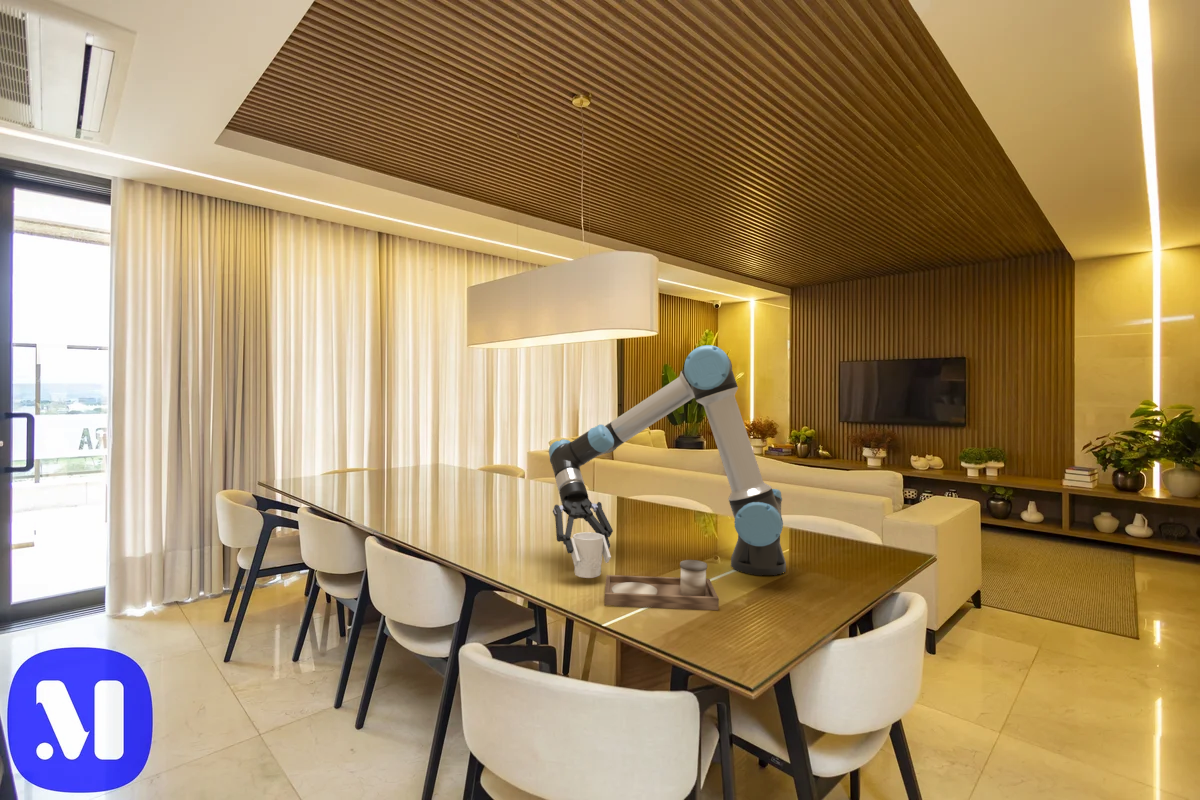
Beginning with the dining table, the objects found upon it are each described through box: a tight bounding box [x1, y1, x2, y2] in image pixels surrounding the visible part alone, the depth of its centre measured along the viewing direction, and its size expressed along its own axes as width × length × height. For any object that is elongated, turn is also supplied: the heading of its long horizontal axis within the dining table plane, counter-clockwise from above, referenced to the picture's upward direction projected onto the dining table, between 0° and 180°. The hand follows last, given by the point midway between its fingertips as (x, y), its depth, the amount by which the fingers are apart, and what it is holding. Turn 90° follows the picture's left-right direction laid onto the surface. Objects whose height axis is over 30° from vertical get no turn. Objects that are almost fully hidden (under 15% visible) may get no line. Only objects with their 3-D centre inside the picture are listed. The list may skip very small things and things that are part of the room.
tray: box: [604, 559, 720, 611], centre depth 138 cm, size 26×14×8 cm, turn 88°
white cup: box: [572, 531, 603, 579], centre depth 149 cm, size 8×8×10 cm
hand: (592, 561), depth 146 cm, fingers closed on white cup, 8 cm apart
